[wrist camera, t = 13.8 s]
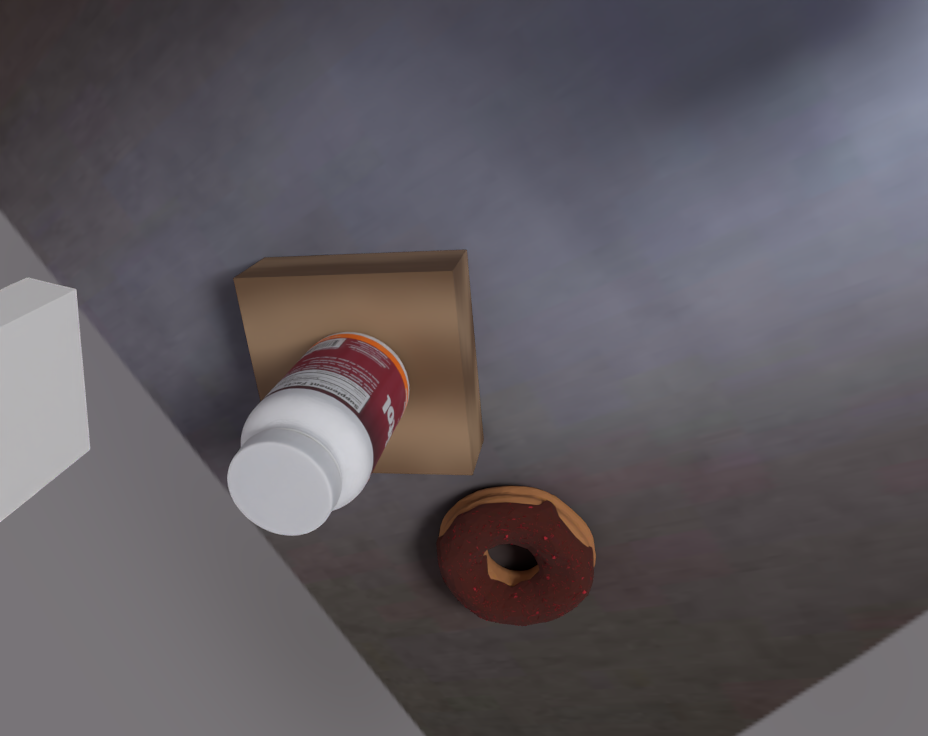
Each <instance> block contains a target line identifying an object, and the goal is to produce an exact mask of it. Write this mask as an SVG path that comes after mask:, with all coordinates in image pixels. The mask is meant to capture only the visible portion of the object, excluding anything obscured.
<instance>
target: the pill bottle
mask: <svg viewBox="0 0 928 736" xmlns="http://www.w3.org/2000/svg"><path fill="white" fill-rule="evenodd" d="M408 399H409V380H408V376H407V372H406V370H405V368H404V365H403V364H402V362H401V360H400V359H399V357H398V356H397V355H396V353H395V352H394V351H393V350H392V349H391V348H389V347H388V346H387V345H386V344H384V343H383V342H381V341H380V340H378V339H376V338H374V337H371V336H369V335H365V334H362V333H356V332H341V333H336V334H332V335H329V336H327V337H325V338H323V339H321V340H320V341H318V342H317V343H316V344H315V345H313V346H312V347H311V348H310V349H309V350H308V351H307V352H306V353H305V355H304V356H303V357H302V358H301V359H300V360H299V361H298V362H297V363H296V364H295V365H294V366H293V367H292V369H291V370H290V371H289V372H288V373H287V374H286V375H285V376H284V377H283V378H282V379H281V380H280V382H279V383H278V384H277V385H276V386H275V387H274V388H273V389H272V390H271V391H270V392H269V393H268V394H267V395H266V396H265V397H264V399H262V400H261V402H260V403H259V404H258V405H257V406H256V407H255V408H254V410H253V411H252V412H251V413H250V415H249V416H248V418H247V420H246V422H245V424H244V427H243V431H242V435H241V448H240V449H239V451H238V452H237V454H236V455H235V456H234V458H233V459H232V461H231V463H230V466H229V469H228V475H227V481H228V488H229V492H230V494H231V497H232V499H233V501H234V503H235V504H236V506H237V507H238V508H239V510H240V511H241V512H242V513H243V514H244V515H245V516H246V517H247V518H248V519H249V520H251V521H252V522H253V523H255V524H256V525H258V526H260V527H261V528H263V529H265V530H268V531H270V532H273V533H277V534H281V535H302V534H306V533H309V532H311V531H313V530H315V529H317V528H318V527H319V526H321V525H322V524H323V523H324V522H325V521H326V519H327V518H328V516H329V515H330V513H331V512H332V511H333V510H336V509H339V508H341V507H343V506H345V505H346V504H348V503H349V502H351V501H352V500H353V499H354V498H355V497H356V496H357V495H358V494H359V493H360V492H361V491H362V489H363V488H364V486H365V485H366V483H367V482H368V480H369V478H370V476H371V474H372V472H373V471H374V469H375V467H376V464H377V462H378V460H379V458H380V457H381V455H382V453H383V451H384V449H385V447H386V445H387V443H388V441H389V439H390V437H391V436H392V434H393V432H394V430H395V428H396V426H397V425H398V423H399V421H400V419H401V417H402V416H403V414H404V411H405V409H406V406H407V403H408Z"/></svg>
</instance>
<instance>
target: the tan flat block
mask: <svg viewBox="0 0 928 736" xmlns="http://www.w3.org/2000/svg"><path fill="white" fill-rule="evenodd" d="M233 279H234V284H235V288H236V293H237V297H238V302H239V306H240V311H241V315H242V320H243V325H244V329H245V334H246V338H247V343H248V347H249V352H250V356H251V361H252V365H253V370H254V374H255V379H256V383H257V388H258V392H259V397H260V401H261V400H262V399H264V397H265V396H266V395H267V394H268V393H269V392H270V391H271V390H272V389H273V388H274V387H275V386H276V385H277V384H278V383H279V382H280V380H281V379H282V378H283V377H284V376H285V375H286V374H287V373H288V372H289V371H290V370H291V369H292V367H293V366H294V365H295V364H296V363H297V362H298V361H299V360H300V359H301V358H302V357H303V356H304V355H305V353H306V352H307V351H308V350H309V349H310V348H311V347H312V346H313V345H315V344H316V343H317V342H318V341H320V340H321V339H323V338H325V337H327V336H329V335H332V334H336V333H341V332H356V333H362V334H365V335H369V336H371V337H374V338H376V339H378V340H380V341H381V342H383V343H384V344H386V345H387V346H388V347H389V348H391V349H392V350H393V351H394V352H395V353H396V355H397V356H398V357H399V359H400V360H401V362H402V364H403V365H404V368H405V370H406V372H407V376H408V380H409V399H408V403H407V406H406V409H405V411H404V414H403V416H402V417H401V419H400V421H399V423H398V425H397V426H396V428H395V430H394V432H393V434H392V436H391V437H390V439H389V441H388V443H387V445H386V447H385V449H384V451H383V453H382V455H381V457H380V458H379V460H378V462H377V464H376V467H375V469H374V471H373V472H372V473H400V474H445V475H473V472H474V469H475V466H476V463H477V459H478V456H479V453H480V450H481V447H482V444H483V440H484V439H483V428H482V416H481V405H480V394H479V383H478V371H477V360H476V349H475V338H474V326H473V315H472V304H471V292H470V281H469V270H468V259H467V250H443V251H418V252H392V253H367V254H342V255H316V256H291V257H266V258H263V259H262V260H260V261H259V262H257V263H256V264H254V265H253V266H251V267H250V268H248V269H247V270H245V271H244V272H242V273H241V274H239V275H237V276H236V277H234V278H233Z"/></svg>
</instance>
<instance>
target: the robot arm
mask: <svg viewBox="0 0 928 736" xmlns="http://www.w3.org/2000/svg"><path fill="white" fill-rule="evenodd" d="M89 450H90V440H89V429H88V418H87V406H86V395H85V384H84V372H83V361H82V349H81V338H80V327H79V316H78V304H77V292H76V289H74V288H69V287H65V286H61V285H57V284H53V283H48V282H45V281H40V280H36V279H32V278H28V277H27V278H25V279H23V280H21V281H18V282H16V283H14V284H11V285H9V286H7V287H5V288H2V289H0V522H1V521H2V520H3V519H5V518H6V517H7V516H8V515H10V514H11V513H12V512H13V511H15V510H16V509H17V508H18V507H20V506H21V505H22V504H23V503H24V502H26V501H27V500H28V499H29V498H31V497H32V496H33V495H34V494H36V493H37V492H38V491H39V490H40V489H42V488H43V487H44V486H45V485H47V484H48V483H49V482H51V481H52V480H53V479H54V478H56V477H57V476H58V475H59V474H60V473H62V472H63V471H64V470H65V469H66V468H68V467H69V466H70V465H72V464H73V463H74V462H75V461H77V460H78V459H79V458H80V457H82V456H83V455H84V454H85V453H87V452H88V451H89Z"/></svg>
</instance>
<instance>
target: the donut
mask: <svg viewBox="0 0 928 736" xmlns="http://www.w3.org/2000/svg"><path fill="white" fill-rule="evenodd" d="M501 544H511V545H513V544H514V545H517V546H520V547H523V548H526V549H528V550H529V551H530V552H531V553H532V554H533V555H534V557H535V559H536V561H537V563H538V565H536V566H535V567H533V568H531V569H529V570H525V571H514V570H509V569H506V568H504V567H502V566H500V565H499V564H497V563H496V562H495V561H493V560H492V559H491V558H490V556H489V554H488V549H491V548H493V547H495V546H497V545H501ZM436 545H437V555H438V565H439V568H440V572H441V575H442V578H443V580H444V582H445V584H446V585H447V586H448V588H449V589H450V590H451V592H452V593H453V595H454V596H455V597H456V598H457V599H458V601H460V602H461V603H462V604H463V605H464V607H466V608H468V609H469V610H471V611H472V612H473V613H474V614H476V615H477V616H478V617H480V618H482V619H485V620H486V621H487V620H488V621H492V622H495V623H496V622H497V623H502V624H511V625H521V626H527V625H531V624H537V623H543V622H549V621H551V620H554V619H557V618H559V617H561V616H563V615H564V614H566V613H568V612H569V611H571V610H573V609H574V608H575V607H576V606H578V604H579V603H580V602H581V601H582V600H583V599H584V598H585V597H586V596H588V594H589V591H590V589H591V586H592V583H593V577H594V576H593V575H594V566H595V559H596V554H595V547H594V541H593V536H592V534H591V531H590V529H589V528H588V526H587V524H586V523H585V522H584V521H583V520H582V518H581V517H580V516H578V515H577V514H576V513H575V512H574V511H573V510H572V509H571V508H570V507H568V506H567V505H566V504H565V503H563V502H562V501H561V500H560V499H558V498H557V497H556V496H554V495H552V494H550V493H548V492H546V491H543V490H540V489H537V488H533V487H526V486H500V487H493V488H486V489H482V490H479V491H476V492H474V493H472V494H470V495H468V496H466V497H464V498H463V499H461V500H460V501H458V502H457V503H456V504H455V505H454V506H453V507H452V508H451V509H450V510H449V511H448V512H447V514H446V515H445V517H444V519H443V520H442V523H441V526H440V533H439V537H438V540H437V543H436Z"/></svg>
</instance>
